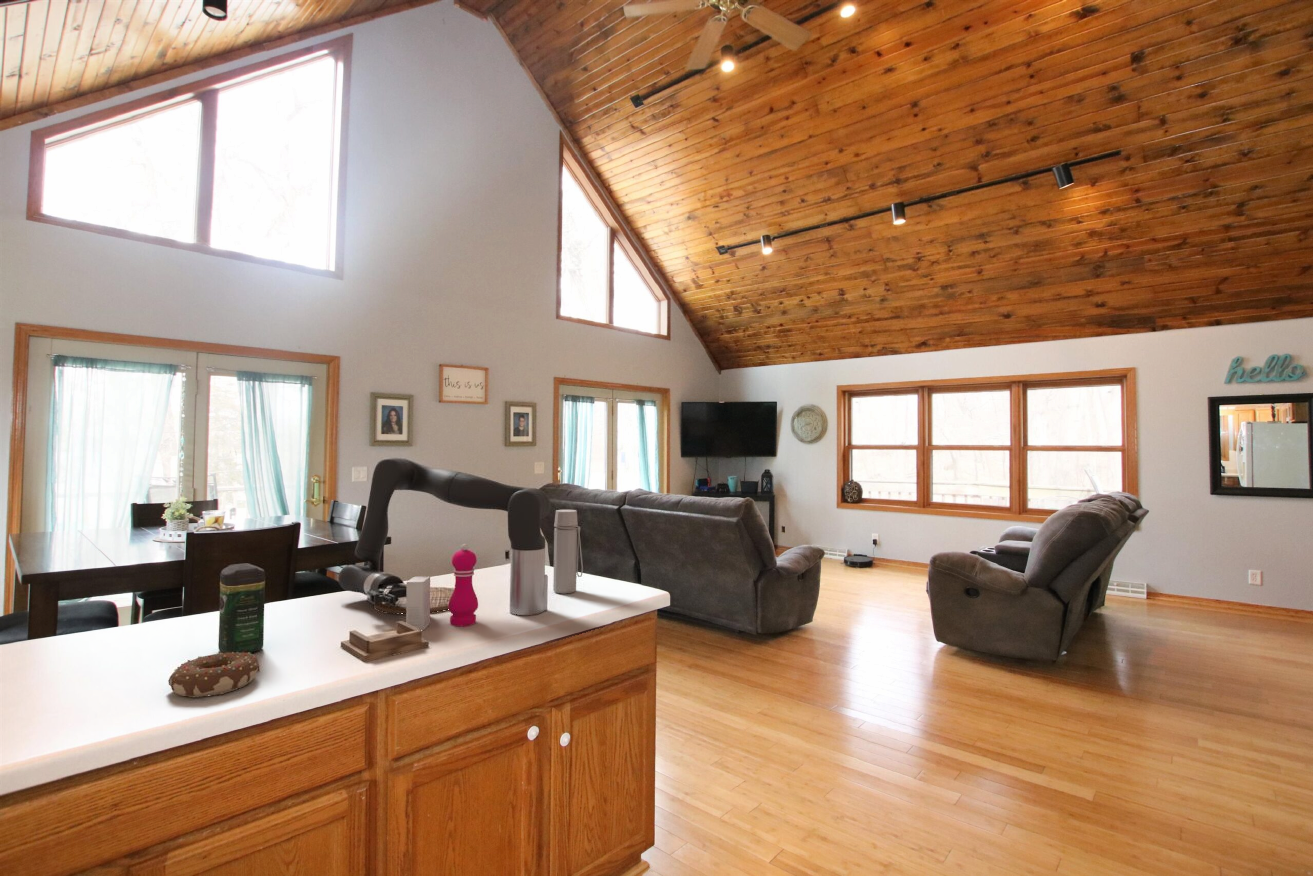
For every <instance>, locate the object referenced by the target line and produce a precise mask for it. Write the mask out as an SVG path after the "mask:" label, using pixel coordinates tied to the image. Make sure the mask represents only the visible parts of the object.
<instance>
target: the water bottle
mask: <svg viewBox="0 0 1313 876" xmlns="http://www.w3.org/2000/svg"><path fill="white" fill-rule="evenodd" d="M577 512H578V510H577V509H558V510H557V509H556V510H555V513H554V515H555V516H554V524H553V527H554V530H553V538H554V539H553V584H552V585H553V586H552V587H553V588H552V590H553V592H555V593H556V594H559V593H561V594H560V595H565V594H566V593H569V594H572V592H573V593H574V592H576V591H577V577H578V578H581V577H582V576H583V571H584V570H583V569H584V566H583V555H582V553H583V552H582V546H581V545H582V544H581V543H582V542H581V536H580V534H581V533H580V532H581V526H578V525H579V523H578V513H577ZM579 549H580V550H579ZM579 551H580V553H579ZM579 554H580V564H581V565H580V566H581V570H580V575H579V573H578V572H579ZM566 595H567V594H566Z"/></svg>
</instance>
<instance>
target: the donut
mask: <svg viewBox="0 0 1313 876" xmlns="http://www.w3.org/2000/svg"><path fill="white" fill-rule="evenodd" d="M173 671H174V672H172V674H171V675H170V676H169V678H168V680H167V681H168V685H169V686H170V687H171V688H170V689H171V690H172V692H174V693H175V694H177V695H179V696H181V695H182V696H181V697H184V696H189V697H188V698H198V697H197V696H207V697H209V696H208V695H214V696H217V695H216V694H219V695H222V694H221V693H223V694H226V692H227V693H230V692H233V691H235V690H238V688H239V689H241V688H244V687H245V686H247V685H248V684H249V683H250V682H251V681H253V679H255V677H256V676H257V674H258V673H259V672H260V665H259V662H258V658H257V657H256V656H255V655H254V654H253V653H244V652H242V653H238V652H236V653H234V652H232V653H229V652H227V653H221V652H219V653H213V654H210V655H205V656H198V657H196V658H195V659H187V661H185V662H184V663H181V664H180V666H177V668H175V669H174V670H173ZM229 691H230V692H229Z"/></svg>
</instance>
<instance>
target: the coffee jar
mask: <svg viewBox="0 0 1313 876" xmlns="http://www.w3.org/2000/svg"><path fill="white" fill-rule="evenodd" d="M219 575H220V579H219V620H218V621H219V622H218V643H217V645H218V650H219V653H227V652H229V653H232V652H234V653H236V652H238V653H242V652H244V653H250V654H253V653H254V652H257V651H261V650H263V647H264V636H265V634H264V633H265V631H264V629H265V628H264V627H265V592H266V588H265V587H266V572H265V570H264V568H261V567H259V566H257V565H254V564H252V563H249V562H248V563H247V562H246V563H237V564H236V563H234V564H229V565H227V567H225V568H223V569H222V570H221V572H220V574H219Z"/></svg>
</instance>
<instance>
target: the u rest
mask: <svg viewBox="0 0 1313 876" xmlns="http://www.w3.org/2000/svg"><path fill="white" fill-rule="evenodd" d="M348 634H349V637H348V638H349V639H348V640H342V641H341V642H340V648H341V647H342V648H341V649H343V650H344V651H346V650H347V652H348V653H349V652H350V653H349V654H351V655H352V656H355V657H356V658H358V659H359V660H361V661H362V662H365V663H366V662H370V661H374V660H378V659H382V658H386V657H391V656H395V655H394V654H396V655H399V654H398V653H400V654H403V653H402V652H404V653H407V652H411V651H417V650H421V649H424V648H429V641H428V640H426V639H424V638H423V631H421V629H418V628H416V627H414V626H412V625H410V624H408V623H406V622H405V621H403V620H399V621H396V630H390V631H386V632H380V633H376V634H371V635H365V634H363V633H362V632H360V631H358V630H357V629H354V630H350V631H349V633H348ZM416 649H417V650H416ZM390 655H391V656H390Z"/></svg>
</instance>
